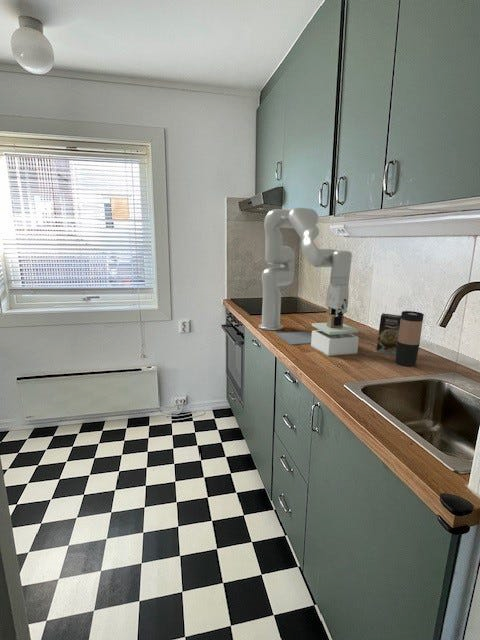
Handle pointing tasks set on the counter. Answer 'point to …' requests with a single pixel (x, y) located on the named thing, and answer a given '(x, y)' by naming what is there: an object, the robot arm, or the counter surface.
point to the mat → (296, 337)
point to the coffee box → (388, 334)
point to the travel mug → (409, 338)
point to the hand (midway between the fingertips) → (334, 323)
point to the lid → (334, 327)
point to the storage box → (334, 343)
